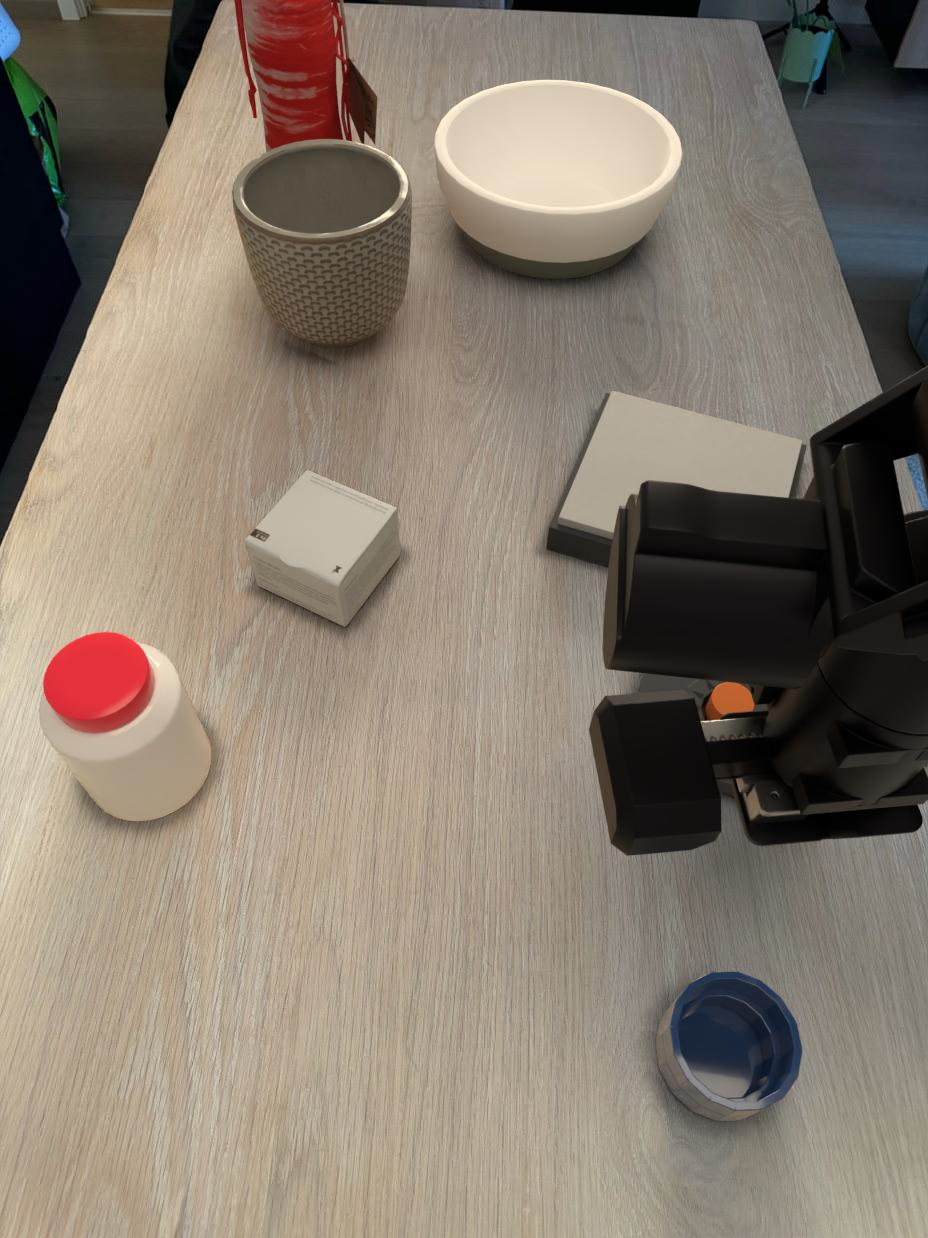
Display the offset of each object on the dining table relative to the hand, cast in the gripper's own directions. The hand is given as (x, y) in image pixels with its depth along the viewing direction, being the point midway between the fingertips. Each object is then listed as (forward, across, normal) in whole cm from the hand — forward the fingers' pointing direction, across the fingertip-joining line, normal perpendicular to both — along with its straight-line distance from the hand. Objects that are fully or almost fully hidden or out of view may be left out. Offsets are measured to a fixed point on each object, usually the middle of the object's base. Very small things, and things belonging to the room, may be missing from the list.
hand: (770, 832), depth 45 cm
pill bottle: (+12, +33, -12) cm, 37 cm away
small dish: (+12, +2, +8) cm, 14 cm away
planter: (+12, +21, -54) cm, 59 cm away
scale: (+12, -4, -30) cm, 33 cm away
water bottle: (+12, +21, -71) cm, 75 cm away
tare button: (+9, -3, -11) cm, 15 cm away
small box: (+12, +22, -27) cm, 36 cm away
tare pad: (+12, -3, -11) cm, 16 cm away
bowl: (+12, 0, -67) cm, 68 cm away
